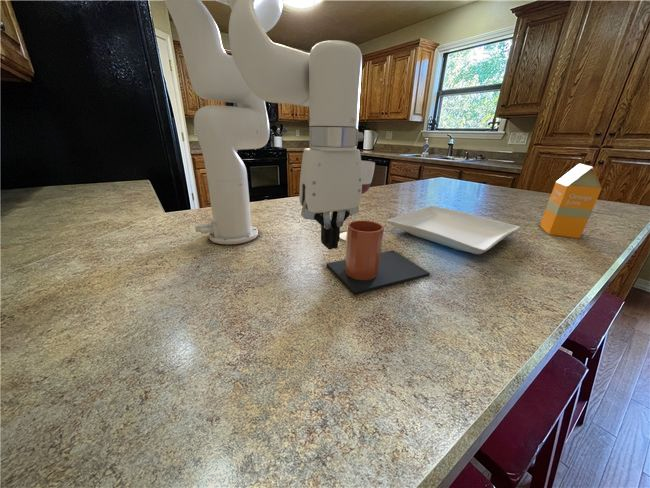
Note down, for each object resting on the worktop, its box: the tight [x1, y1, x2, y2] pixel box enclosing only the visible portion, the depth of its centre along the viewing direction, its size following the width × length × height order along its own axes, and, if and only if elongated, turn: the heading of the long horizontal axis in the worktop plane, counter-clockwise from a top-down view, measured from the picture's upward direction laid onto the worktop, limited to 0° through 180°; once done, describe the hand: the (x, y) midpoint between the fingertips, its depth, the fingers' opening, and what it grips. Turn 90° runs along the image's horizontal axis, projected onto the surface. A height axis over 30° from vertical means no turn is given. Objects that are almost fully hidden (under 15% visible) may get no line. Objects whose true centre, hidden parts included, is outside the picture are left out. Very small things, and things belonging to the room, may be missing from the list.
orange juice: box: [539, 162, 603, 239], centre depth 79 cm, size 8×9×20 cm
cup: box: [344, 219, 385, 280], centre depth 53 cm, size 7×7×10 cm
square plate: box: [387, 205, 522, 255], centre depth 77 cm, size 27×27×4 cm
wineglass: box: [339, 160, 376, 241], centre depth 71 cm, size 8×9×20 cm
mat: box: [326, 250, 431, 295], centre depth 57 cm, size 18×12×1 cm, turn 115°
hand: (329, 246), depth 49 cm, fingers closed
